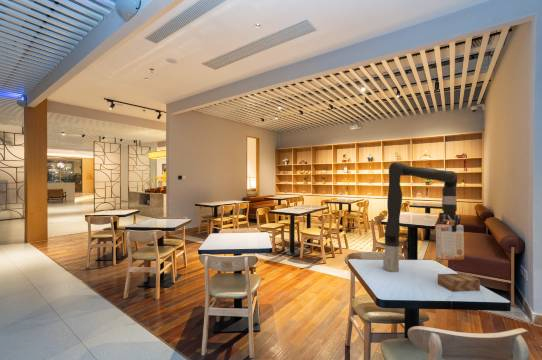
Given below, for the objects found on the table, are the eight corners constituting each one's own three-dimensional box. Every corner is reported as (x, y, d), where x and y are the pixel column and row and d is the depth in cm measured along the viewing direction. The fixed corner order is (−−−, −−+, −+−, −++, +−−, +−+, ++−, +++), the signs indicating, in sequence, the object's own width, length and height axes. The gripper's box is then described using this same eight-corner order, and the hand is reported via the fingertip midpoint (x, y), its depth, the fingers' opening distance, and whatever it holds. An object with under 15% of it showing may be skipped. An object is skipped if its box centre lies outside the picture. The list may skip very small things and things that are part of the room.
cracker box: (457, 257, 170) (457, 223, 170) (464, 260, 164) (464, 225, 164) (435, 257, 169) (435, 223, 169) (442, 260, 163) (441, 225, 163)
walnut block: (452, 291, 155) (452, 280, 155) (437, 284, 166) (437, 274, 166) (479, 290, 158) (479, 279, 158) (463, 282, 168) (463, 273, 168)
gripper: (434, 202, 173) (435, 229, 173) (453, 204, 159) (453, 233, 159) (445, 202, 174) (445, 228, 174) (464, 204, 160) (465, 232, 160)
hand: (449, 230), depth 167 cm, fingers closed on cracker box, 6 cm apart
